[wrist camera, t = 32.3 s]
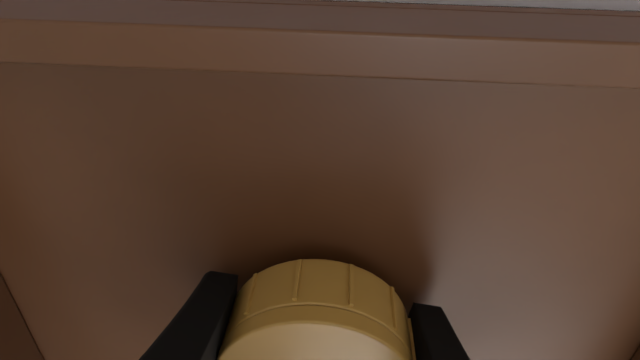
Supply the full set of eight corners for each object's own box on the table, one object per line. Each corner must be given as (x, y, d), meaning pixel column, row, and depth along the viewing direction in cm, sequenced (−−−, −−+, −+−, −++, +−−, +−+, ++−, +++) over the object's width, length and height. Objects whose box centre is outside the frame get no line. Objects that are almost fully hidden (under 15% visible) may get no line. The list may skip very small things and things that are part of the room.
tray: (69, 418, 15) (35, 483, 13) (-152, -18, 8) (-288, 7, 6) (575, 454, 14) (604, 527, 12) (858, 19, 7) (1011, 56, 5)
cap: (198, 288, 10) (172, 352, 8) (366, 233, 9) (369, 297, 7) (283, 389, 11) (274, 456, 10) (431, 354, 10) (443, 424, 9)
